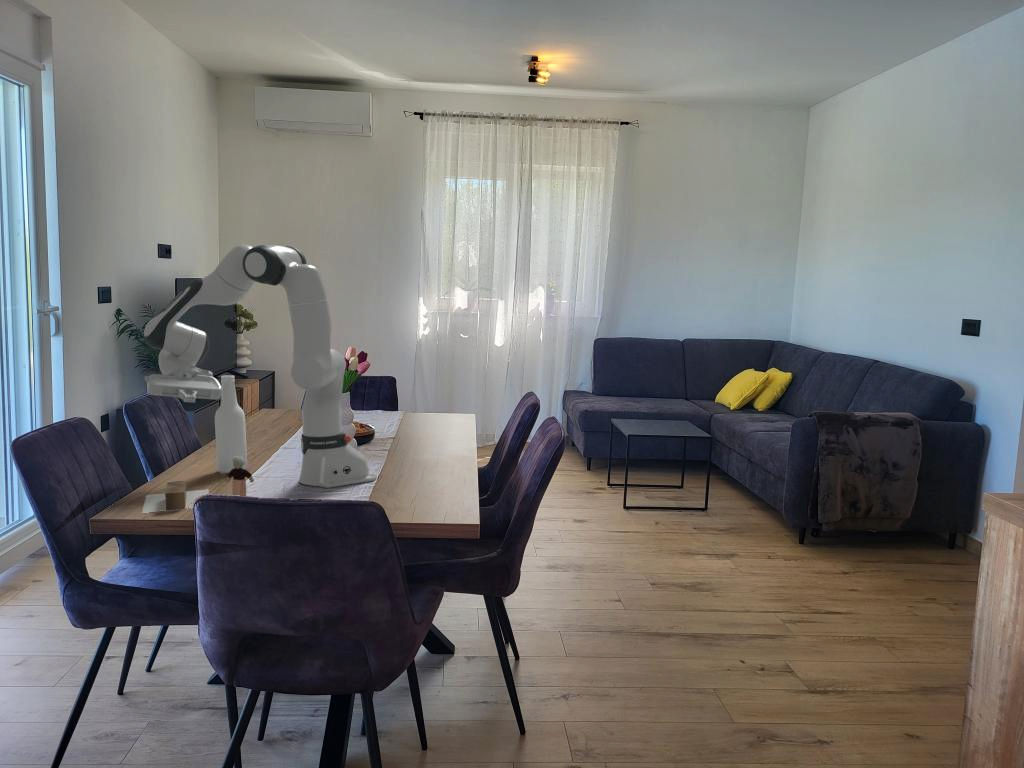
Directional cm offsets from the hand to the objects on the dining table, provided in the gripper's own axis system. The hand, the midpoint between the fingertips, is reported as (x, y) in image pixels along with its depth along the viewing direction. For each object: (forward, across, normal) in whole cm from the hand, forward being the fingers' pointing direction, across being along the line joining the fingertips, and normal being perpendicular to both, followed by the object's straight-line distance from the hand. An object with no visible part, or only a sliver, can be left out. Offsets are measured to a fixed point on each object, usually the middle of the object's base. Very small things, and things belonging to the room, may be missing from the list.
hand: (190, 400), depth 221 cm
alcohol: (-1, +18, +25) cm, 30 cm away
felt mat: (+24, -4, +19) cm, 31 cm away
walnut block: (+19, -4, +18) cm, 26 cm away
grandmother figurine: (+31, +10, +14) cm, 36 cm away
